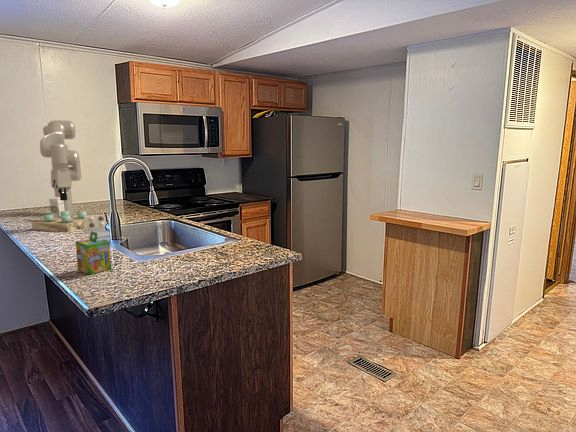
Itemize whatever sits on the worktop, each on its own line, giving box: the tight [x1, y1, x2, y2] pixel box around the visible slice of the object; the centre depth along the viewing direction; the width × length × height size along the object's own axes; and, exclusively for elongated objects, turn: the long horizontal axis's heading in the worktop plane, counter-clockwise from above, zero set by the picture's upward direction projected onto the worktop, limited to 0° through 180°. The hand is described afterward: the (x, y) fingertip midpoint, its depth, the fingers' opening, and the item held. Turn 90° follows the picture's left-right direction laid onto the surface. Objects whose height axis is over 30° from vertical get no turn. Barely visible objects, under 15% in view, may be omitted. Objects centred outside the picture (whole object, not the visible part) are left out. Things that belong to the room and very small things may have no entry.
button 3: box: [61, 215, 71, 223], centre depth 227 cm, size 5×5×4 cm
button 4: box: [76, 210, 88, 219], centre depth 238 cm, size 5×5×4 cm
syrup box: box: [48, 196, 65, 217], centre depth 252 cm, size 6×6×14 cm
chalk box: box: [75, 231, 112, 276], centre depth 155 cm, size 9×9×15 cm
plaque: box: [84, 214, 107, 230], centre depth 230 cm, size 1×12×7 cm, turn 115°
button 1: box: [43, 213, 54, 222], centre depth 230 cm, size 5×5×4 cm
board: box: [31, 214, 85, 233], centre depth 235 cm, size 24×24×4 cm
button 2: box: [60, 211, 70, 216], centre depth 241 cm, size 5×5×4 cm
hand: (64, 200), depth 224 cm, fingers closed
